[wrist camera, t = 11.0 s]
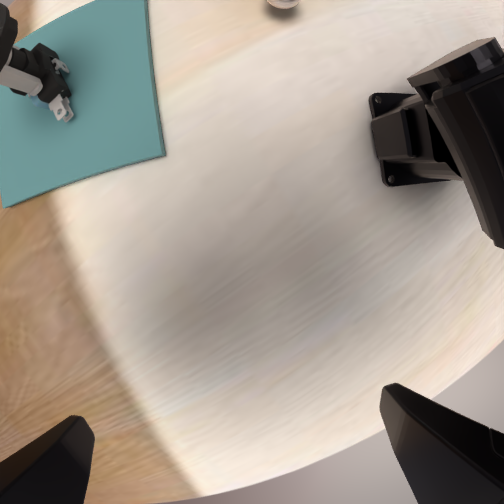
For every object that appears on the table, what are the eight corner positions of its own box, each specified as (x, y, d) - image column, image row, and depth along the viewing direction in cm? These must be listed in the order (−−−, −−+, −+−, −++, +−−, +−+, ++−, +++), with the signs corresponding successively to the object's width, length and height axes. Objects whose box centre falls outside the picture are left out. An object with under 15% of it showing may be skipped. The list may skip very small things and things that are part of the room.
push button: (102, 95, 15) (4, 45, 6) (46, 146, 16) (-62, 141, 6) (70, 36, 14) (-10, -19, 4) (20, 84, 14) (-70, 59, 5)
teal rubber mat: (146, -11, 14) (143, -18, 13) (165, 155, 18) (161, 154, 17) (4, 57, 14) (-2, 55, 13) (10, 206, 18) (3, 208, 17)
